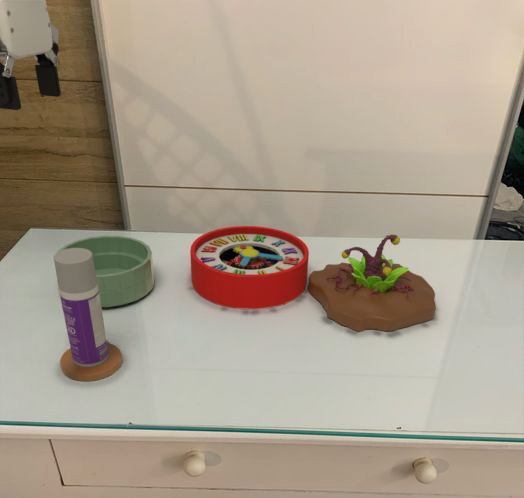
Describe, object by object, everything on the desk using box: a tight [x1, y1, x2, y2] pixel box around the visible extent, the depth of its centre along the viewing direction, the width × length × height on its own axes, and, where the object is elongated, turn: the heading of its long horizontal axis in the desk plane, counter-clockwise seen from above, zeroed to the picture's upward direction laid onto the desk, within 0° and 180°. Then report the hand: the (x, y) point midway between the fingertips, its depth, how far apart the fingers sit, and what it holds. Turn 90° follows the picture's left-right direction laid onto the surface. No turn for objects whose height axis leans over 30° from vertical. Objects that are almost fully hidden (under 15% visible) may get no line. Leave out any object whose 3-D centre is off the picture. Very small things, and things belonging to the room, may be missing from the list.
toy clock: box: [189, 225, 310, 310], centre depth 95 cm, size 20×6×20 cm
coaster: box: [59, 342, 123, 382], centre depth 75 cm, size 8×8×1 cm
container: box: [53, 248, 109, 367], centre depth 71 cm, size 5×5×15 cm
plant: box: [307, 234, 437, 332], centre depth 90 cm, size 20×20×11 cm
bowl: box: [56, 235, 155, 308], centre depth 91 cm, size 15×15×6 cm
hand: (31, 101), depth 78 cm, fingers open, 9 cm apart
